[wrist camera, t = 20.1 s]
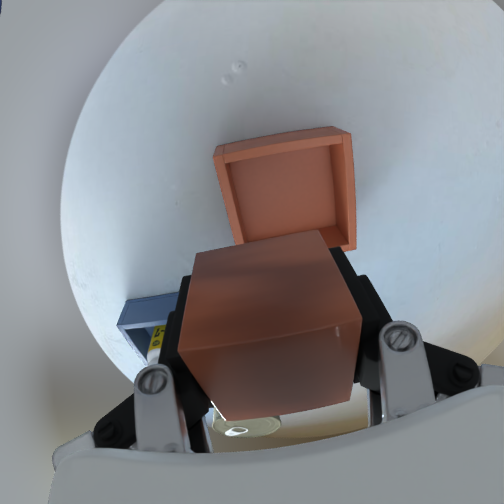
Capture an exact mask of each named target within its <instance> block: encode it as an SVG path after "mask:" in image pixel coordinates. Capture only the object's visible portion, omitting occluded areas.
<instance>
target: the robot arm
mask: <svg viewBox="0 0 504 504" xmlns="http://www.w3.org/2000/svg"><path fill="white" fill-rule="evenodd" d="M328 249H329V251H330V253H331V255H332V257H333V259H334V261H335V263H336V265H337V267H338V269H339V271H340V273H341V275H342V277H343V279H344V281H345V283H346V285H347V287H348V289H349V291H350V293H351V295H352V297H353V299H354V301H355V303H356V305H357V307H358V309H359V312H360V314H361V316H362V326H361V334H360V342H359V349H358V356H357V362H356V369H355V374H354V380H353V382H354V384H355V383H358V382H360V385H361V386H363V387H365V388H367V399H368V428H366V429H363V430H360V431H356V432H352V433H349V434H345V435H341V436H337V437H333V438H328V439H324V440H319V441H315V442H309V443H304V444H298V445H293V446H287V447H279V448H273V449H264V450H254V451H242V452H227V453H214V451H213V447H212V443H211V439H210V435H209V431H208V427H207V423H206V419H205V414H206V413H208V412H209V408H215V406H214V405H213V403H212V402H211V401H210V399H209V398H208V396H207V395H206V394H205V392H204V391H203V389H202V388H201V386H200V385H199V383H198V382H197V380H196V379H195V377H194V376H193V374H192V373H191V371H190V370H189V368H188V367H187V365H186V364H185V362H184V361H183V359H182V358H181V356H180V354H179V353H178V344H179V339H180V333H181V327H182V322H183V316H184V311H185V305H186V300H187V295H188V290H189V285H190V280H191V275H188V276H184V277H183V278H182V282H181V286H180V290H179V295H178V299H177V303H176V308H175V311H171V312H169V315H168V319H167V323H166V327H165V331H164V336H163V340H162V345H161V349H160V354H159V359H158V364H151V365H149V366H146V367H145V368H144V369H142V370H141V371H140V372H139V373H138V374H137V376H136V378H135V381H134V393H133V394H132V395H131V396H129V397H128V398H127V399H126V400H124V401H123V402H122V403H121V404H119V405H118V406H117V407H116V408H114V409H113V410H112V411H110V412H109V413H108V414H107V415H105V416H104V417H103V418H102V419H100V420H99V421H98V422H97V424H96V426H95V428H94V431H93V432H91V431H90V430H89V431H87V432H86V433H84V434H82V435H80V436H78V437H76V438H74V439H73V440H71V441H69V442H67V443H65V444H63V445H61V446H59V447H58V448H57V449H55V451H54V453H53V456H52V462H53V466H54V470H55V474H54V478H53V481H52V484H51V489H50V494H49V500H48V504H504V367H502V366H495V365H489V364H482V365H481V366H477V364H476V362H475V361H474V360H473V359H471V358H469V357H467V356H465V355H462V354H459V353H456V352H453V351H450V350H447V349H444V348H441V347H438V346H435V345H432V344H429V343H427V342H424V341H423V340H422V337H421V334H420V332H419V330H418V329H417V328H416V327H415V326H414V325H413V324H411V323H409V322H406V321H393V320H392V319H391V317H390V315H389V313H388V311H387V310H386V308H385V306H384V304H383V302H382V301H381V299H380V297H379V295H378V294H377V292H376V290H375V289H374V287H373V285H372V283H371V282H370V280H369V278H368V277H367V276H366V275H360V276H357V274H356V273H355V271H354V269H353V267H352V266H351V264H350V262H349V260H348V259H347V257H346V255H345V254H344V252H343V250H342V248H341V247H340V246H337V247H332V248H328Z"/></svg>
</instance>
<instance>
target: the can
mask: <svg viewBox="0 0 504 504" xmlns="http://www.w3.org/2000/svg"><path fill="white" fill-rule="evenodd" d="M280 427H281V420H280V417H279V415H278V416H272V417H264V418H257V419H248V420H238V421H225V420H224V418H223V417H222V416H221V414H220V413H219V412H218V410H217V409H216V407H215V408H214V413H213V423H212V428H213V430H214V431H216V432H217V433H220V434H222V435H225V436H229V437H237V438H251V437H259V436H264V435H267V434H270V433H273V432H275V431H276V430H278V429H279V428H280Z"/></svg>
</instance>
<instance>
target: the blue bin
mask: <svg viewBox="0 0 504 504" xmlns="http://www.w3.org/2000/svg"><path fill="white" fill-rule="evenodd" d="M178 295H179V292H177V293H171V294H165V295H159V296H153V297H147V298H141V299H134V300H128V301H126V303H125V305H124V308H123V310H122V312H121V315H120V317H119V320H118V323H117V325H116V326H117V327H118V329H119V330H120V332H121V333H122V335H123V336H124V337H125V339H126V340H127V342H128V343H129V344H130V346H131V347H132V349H133V350H134V351H135V353H136V354H137V355H138V357H139V358H140V359H141V360H142V362H143V363H144V364H145V366H147V365H148V361H147V354H148V350H149V346H150V342H151V338H152V335H153V331H154V327H155V326H159V325H166V323H167V319H168V315H169V312H171V311H175V308H176V303H177V299H178Z"/></svg>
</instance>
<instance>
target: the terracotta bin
mask: <svg viewBox="0 0 504 504" xmlns="http://www.w3.org/2000/svg"><path fill="white" fill-rule="evenodd" d="M213 160H214V164H215V168H216V172H217V176H218V180H219V184H220V188H221V192H222V195H223V199H224V203H225V207H226V211H227V214H228V218H229V222H230V226H231V230H232V233H233V237H234V241H235V245H239V244H244V243H249V242H254V241H259V240H265V239H270V238H275V237H280V236H285V235H290V234H295V233H301V232H306V231H311V230H316V229H317V230H318V231H319V232H320V234H321V236H322V238H323V240H324V242H325V244H326V245H327V247H328V248H332V247H337V246H340V247H341V248H342V250H343V252H346V251H351V250H355V249H356V196H355V177H354V162H353V150H352V140H351V133H349V132H346V131H344V130H341V129H338V128H336V127H333V126H330V127H322V128H314V129H306V130H299V131H293V132H286V133H280V134H274V135H268V136H263V137H258V138H253V139H247V140H243V141H238V142H233V143H229V144H224V145H220V146H217V147H216V149H215V152H214V155H213Z"/></svg>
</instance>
